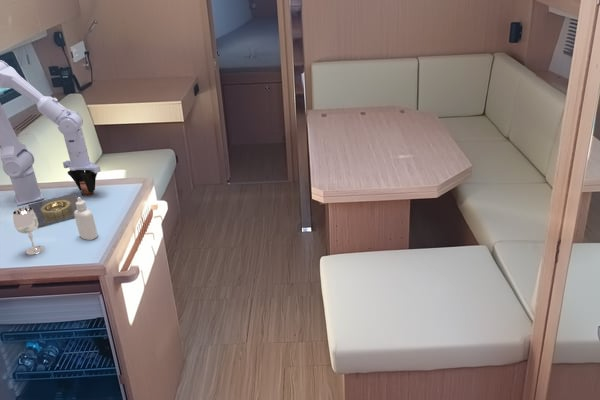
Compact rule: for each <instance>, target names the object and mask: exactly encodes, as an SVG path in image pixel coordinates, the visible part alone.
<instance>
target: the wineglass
mask: <svg viewBox="0 0 600 400" xmlns="http://www.w3.org/2000/svg"><path fill="white" fill-rule="evenodd" d="M12 220H13V225H14V228H15V229H16V231H17V232H19V233H20V234H28V239H29V240H30V241H31V246H32V247H30V248H28V249H27V250H26V251H25V253H26V255H30V256H31V255H38V254H40V253H41V252H43V251H44V250H45V248H44V246H42V245H35V243H34V239H33V237H34V236H33V232H36V230H37V229H38V228H37V227H38V225H39V222H38V218H37V215H36V214H35V212H34V210H33V209H32V208H31V207H29V206H22V207H20V208H17V209H15V210H14V211H13V212H12Z"/></svg>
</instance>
